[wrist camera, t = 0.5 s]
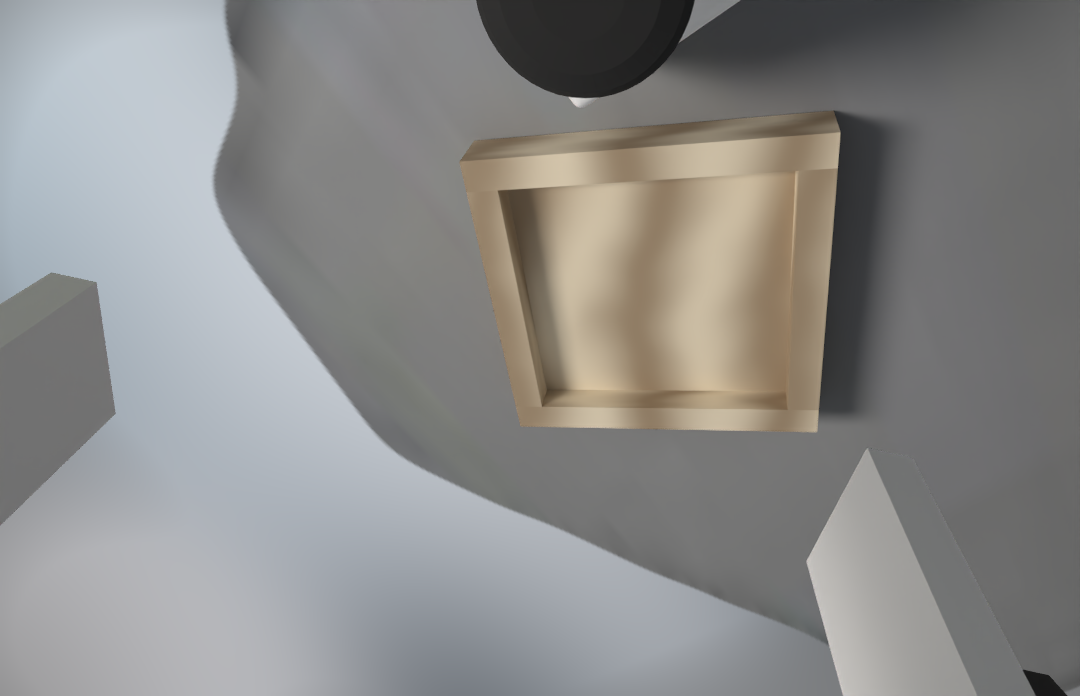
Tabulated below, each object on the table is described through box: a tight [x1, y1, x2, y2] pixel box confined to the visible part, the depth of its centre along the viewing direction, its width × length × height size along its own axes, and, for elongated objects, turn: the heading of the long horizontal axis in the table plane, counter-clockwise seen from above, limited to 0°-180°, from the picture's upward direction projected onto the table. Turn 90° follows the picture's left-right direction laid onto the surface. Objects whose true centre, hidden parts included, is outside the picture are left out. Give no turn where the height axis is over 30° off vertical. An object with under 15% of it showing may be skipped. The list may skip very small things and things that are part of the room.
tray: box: [460, 111, 841, 432], centre depth 37 cm, size 16×16×2 cm
